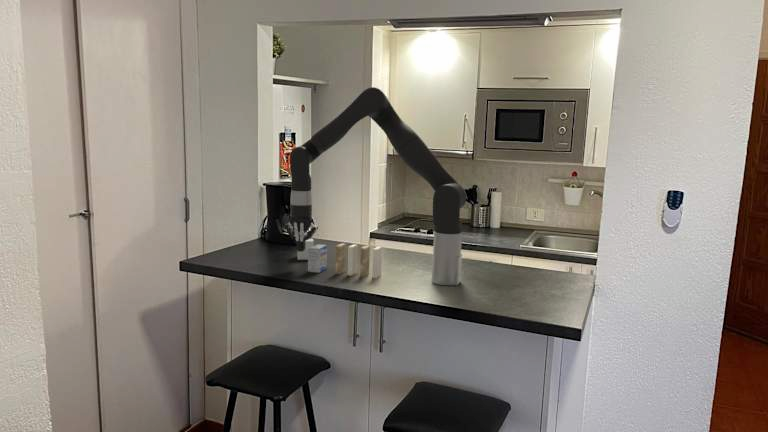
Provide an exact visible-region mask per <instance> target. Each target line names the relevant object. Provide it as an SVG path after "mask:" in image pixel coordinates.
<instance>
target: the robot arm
mask: <svg viewBox="0 0 768 432" xmlns="http://www.w3.org/2000/svg"><path fill="white" fill-rule="evenodd" d="M366 117H369V118H370V119H371V120H372V121H374V122H375V124H376V125H377V126H378V127H379V128H380V129H381V130H382V131H383V132H384V134H385V135H386V137H387V139H388V141H389V142H390V144H391V145H392V147H393V149H394V150H395V153H396V154H398V156H399V157H400V158H401V159H402V161H403V162H404V164H406V166H407V167H409V168H410V169H411V170H413V172H414V173H416V174H417V175H418V176H420V177H421V178H422V179H424V180H425V181H426V182H427V183H428V184H429V185H430V186H431V188H432V189H433V190H434V194H433V197H432V224H433V228H434V229H433V245H432V246H433V247H432V248H433V250H432V251H433V252H432V271H431V282H432V283H433V284H435V285H441V286H458V285H459V284H460V283H461V277H462V264H463V263H462V261H463V260H462V259H463V258H462V257H463V255H462V253H461V252H462V236H463V235H462V234H463V224H462V223H461V219H460V216H461V214H460V213H461V209H462V208H463V207H464V206H465V205H466V202H467V194H466V191H465V188H463V187H462V186H461V184H460V183H458V181H457V180H456V179H455V178H454V177H452V175H450V174H449V172H447V170H446V169H445V167H443V165H442V164H441V162H440V161H439V160H438V159H437V158H436V156H435V155H434V153H433V152H432V151H431V149H429V147H428V146H427V144H426V143H425V142H424V140H423V139H422V138H421V137H420V136H419V135H418V134H417V132H416V131H415V130H414V129H412V128H411V127H410V125H408V124H407V123H406V122H404V120H403V119H402V118H401V117H400V116H399V114H398V113H397V112H396V110H395V108H394V107H393V106H392V104H391V103H390V101H389V99H388V97H387V96H386V94H385V93H384V92H383V90H381V89H380V88H379V87H375V86H372V87H368V88H366V89H364V90H363V91H362V92H361V93H360V94H359V95H358V96H357V97H356V98H355V99H354V100H353V101H352V102H351V103H350V105H348V107H346V108H345V109H344V110H343V111H342V112H341V113H340V114H339V115H337V116H336V117H335V118H334V119H332V120H331V121H330V122H328V123H327V124H326V125H325V126H324V127H322V128H321V129H319V130H318V131H316V133H314V134H313V135H312V136H311V138H310V139H309V140H307V141H306V142H305V143H303V144H302V145H299V146H296V147H294V148H293V149H292V150H291V151H290V153H289V168H290V169H289V170H290V174H291V182H290V187H291V188H290V189H291V190H290V191H291V192H290V209H289V210H290V213H289V214H290V218H289V221H288V222H287V223H286V224H284V225H283V228H284V229H285V231H286V233H287V234H288V236H289V237H290V238H291V239H292V240H294V241H296V242H295V243H296V250H297V252H303V251H304V250H305V241H306V240H308V239H312V237H313V236H314V234H316V233H317V231H318V230H319V226H318V225H315V224H314V222H313V219H312V217H313V214H312V213H313V209H312V208H313V195H312V176H311V175H310V164H312V163H313V162H314V161H315V160H316V159H318V158H319V157H320V156H321V155H322V154H323V153H324V152H327V151H328V150H329V149H331V148H332V147H333V146H335V145H336V144H337V143H339V142H340V141H341V140H342V139H343V138H345V136H346V134H348V132H349V131H350V130H351V129H352V128H353V127H354V126H355V125H356V124H357V123H358V122H360V121H361V120H363V119H365V118H366ZM309 230H310V231H309ZM308 231H309V232H308Z"/></svg>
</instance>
